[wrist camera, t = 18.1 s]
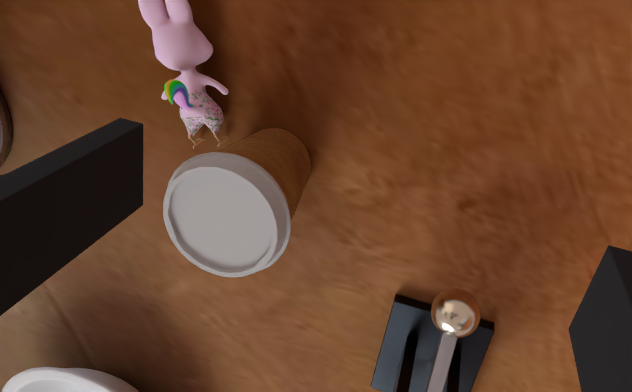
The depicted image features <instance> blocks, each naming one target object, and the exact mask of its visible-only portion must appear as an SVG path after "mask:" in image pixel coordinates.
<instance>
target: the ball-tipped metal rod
mask: <svg viewBox="0 0 632 392" xmlns="http://www.w3.org/2000/svg"><path fill="white" fill-rule="evenodd" d="M480 317H481V312H480V307H479V304H478V302H477V301H476V299H475V298H474V297H473V296H472V295H471V294H470V293H468V292H466V291H464V290H461V289H448V290H445V291H443V292H441V293H440V294H439V295H437V297H436V298H435V299H434V301H433V303H432V307H431V318H432V321H433V323H434V325H435V326H436V328H437V329H438V330H439V331H440V332H441V337H440V341H439V344H438V348H437V352H436V355H435V359H434V363H433V366H432V370H431V374H430V377H429V381H428V385H427V389H426V392H443V389H444V386H445V382H446V378H447V375H448V371H449V367H450V364H451V360H452V356H453V352H454V349H455V345H456V341H457V338H461V337H465V336H468V335H469V334H471V333H472V332H473V331H474V330H475V329H476V328H477V326H478V324H479V322H480Z"/></svg>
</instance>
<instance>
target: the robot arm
mask: <svg viewBox="0 0 632 392" xmlns="http://www.w3.org/2000/svg"><path fill="white" fill-rule="evenodd" d="M11 140H12V129H11V121H10V115H9V112H8V108H7V105H6V102H5V100H4V97H3V95H2V93H1V91H0V167H1V165H2V164H3V163H4V161H5V160H6V158H7V156H8V153H9V151H10V146H11ZM142 205H143V124H141V123H138V122H134V121H130V120H126V119H122V118H119V119H117V120H115V121H113V122H111V123H109V124H107V125H105V126H103V127H101V128H99V129H97V130H95V131H93V132H91V133H89V134H87V135H85V136H82V137H80V138H78V139H76V140H74V141H72V142H70V143H68V144H66V145H64V146H62V147H60V148H58V149H56V150H54V151H52V152H50V153H48V154H46V155H44V156H42V157H40V158H38V159H36V160H34V161H32V162H30V163H28V164H26V165H24V166H21V167H19V168H17V169H15V170H13V171H11V172H9V173H7V174H4V175H0V316H1V315H2V314H3V313H5V312H6V311H7V310H8V309H10V308H11V307H12V306H14V305H15V304H16V303H17V302H19V301H20V300H21V299H23V298H24V297H25V296H26V295H28V294H29V293H30V292H32V291H33V290H34V289H35V288H37V287H38V286H39V285H41V284H42V283H43V282H44V281H46V280H47V279H48V278H50V277H51V276H52V275H53V274H55V273H56V272H57V271H59V270H60V269H61V268H62V267H64V266H65V265H66V264H68V263H69V262H70V261H71V260H73V259H74V258H75V257H77V256H78V255H79V254H80V253H82V252H83V251H84V250H86V249H87V248H88V247H89V246H91V245H92V244H93V243H95V242H96V241H97V240H98V239H100V238H101V237H102V236H104V235H105V234H106V233H107V232H109V231H110V230H111V229H113V228H114V227H115V226H117V225H118V224H119V223H120V222H122V221H123V220H124V219H126V218H127V217H128V216H129V215H131V214H132V213H133V212H135V211H136V210H137V209H138V208H140V207H141V206H142ZM569 333H570V338H571V343H572V348H573V352H574V357H575V362H576V367H577V372H578V376H579V381H580V386H581V391H582V392H632V251H628V250H624V249H620V248H616V247H612V246H609V245H608V247H607V249H606V252H605V254H604V256H603V258H602V260H601V262H600V264H599V266H598V268H597V270H596V272H595V275H594V277H593V279H592V281H591V283H590V285H589V287H588V289H587V291H586V293H585V295H584V298H583V300H582V302H581V304H580V306H579V308H578V310H577V312H576V314H575V316H574V318H573V320H572V323H571V325H570V327H569Z"/></svg>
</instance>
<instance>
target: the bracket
mask: <svg viewBox="0 0 632 392" xmlns="http://www.w3.org/2000/svg"><path fill="white" fill-rule="evenodd" d="M431 307H432V304H429V303H425V302H422V301H418V300H415V299H412V298H408V297H405V296H402V295H398V294H396V295H395V299H394V303H393V306H392V310H391V314H390V317H389V321H388V324H387V328H386V332H385V335H384V339H383V343H382V346H381V350H380V353H379V357H378V361H377V364H376V368H375V372H374V375H373V379H372V383H371V388H374V389H377V390H380V391H383V392H426V389H427V385H428V381H429V377H430V374H431V370H432V366H433V363H434V359H435V355H436V352H437V348H438V344H439V341H440V337H441V332H440V331H439V330H438V329H437V328H436V326H435V325H434V323H433V321H432V318H431ZM493 333H494V323H493V322H489V321H486V320H483V319H480V322H479V324H478V326H477V328H476V329H475V330H474V331H473V332H472V333H471V334H469V335H468V336H465V337H461V338H457V341H456V345H455V349H454V352H453V356H452V360H451V364H450V367H449V371H448V375H447V378H446V382H445V386H444V389H443V392H470V391H471V389H472V386H473V384H474V381H475V379H476V376H477V373H478V371H479V368H480V366H481V363H482V361H483V358H484V356H485V353H486V351H487V348H488V346H489V343H490V341H491V338H492V336H493Z"/></svg>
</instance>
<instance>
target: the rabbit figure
mask: <svg viewBox="0 0 632 392" xmlns="http://www.w3.org/2000/svg"><path fill="white" fill-rule="evenodd" d="M165 2H166V7H167V11H168V14H169V16H170V17H169V16H168V15H167V12H166V9H165V6H164V3H163V0H138V3H139V8H140V11H141V14H142V16H143V18H144V20H145V21H146V23H147V24H148V25H149V26H150V27H151V29H152V34H153V44H154V48H155V55H156V57H157V59H158V60H159V61H160V62H161V63H162V64H163V65H165V66H166V67H168V68H170V69H172V70H177V71H181V75H180V76H179V77H177V78H176V79H174V80H169V81H168V82H166V84H165V85H164V92H163V94H162V99H164V100H167V99H168V100H169V101H170V102H171V104H172V102H173V99H174V100H175V102H176V103H177V104H178V105H179V106H180V116H181V119H182V120H183V121H184V123H185V125H186V128H187V130H188V137H189V139H191V140H192V141H193V142H194V146H197V145H198V144H199V143H200V142H202V140H205V139H201V137H199V138H198V139H194V135H195V133H196V132H197V131H198V130H199V129H200V128H201V127H202V126H203V124H206V125H207V126H208V127H209V129H210V130H211V131H212V132H213V134H214V137H216V138H217V140H218V141H219V143H218V148H219V144H220V145H221V144H222V143H223V142H225V141H226V140H227V138H228V137H227V136H224V137H222V138H219V136H218V133H219V130H220V128H221V125H222V123H223V120H224V115H223V112H222V110H221V108H220V107H219V106H218V105H217V104H216V103H215V102H214V101H213V99H212V98H211V97H209V96H208V94H207V93H206V85H211V86H214V87H216V88H217V89H218V90H219V91H220V92H221V93H222V94H224V95H227V94H228V89H227V88H225V87H224V86H223V85H222V84H220V83H219V82H217V81H216V80H214V79H212V78H210V77H208V76H206V75H202V74H200V73H198V72H197V71H196V69H195V66H197V65H199V64H201V63H203V62H205V61H207V60H208V59H209V58H210V56H211V55H212V53H213V46H212V45H211V43H210V42H209V41H208V40H207V38H206V37H205V36H204V35H203V33H202V32H201V31H200V30H199V29H198V28H197V26H196V25H195V24H194V22H193V15H192V10H191V8H190V5H189V3H188V1H187V0H165ZM225 137H227V138H225ZM228 139H229V138H228ZM205 141H206V140H205ZM194 146H193V149H194Z"/></svg>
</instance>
